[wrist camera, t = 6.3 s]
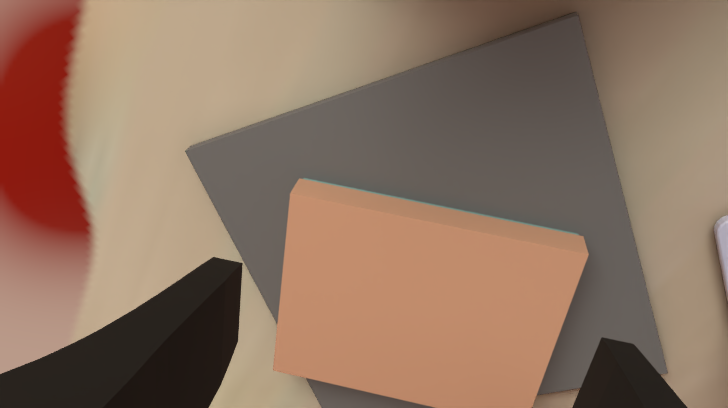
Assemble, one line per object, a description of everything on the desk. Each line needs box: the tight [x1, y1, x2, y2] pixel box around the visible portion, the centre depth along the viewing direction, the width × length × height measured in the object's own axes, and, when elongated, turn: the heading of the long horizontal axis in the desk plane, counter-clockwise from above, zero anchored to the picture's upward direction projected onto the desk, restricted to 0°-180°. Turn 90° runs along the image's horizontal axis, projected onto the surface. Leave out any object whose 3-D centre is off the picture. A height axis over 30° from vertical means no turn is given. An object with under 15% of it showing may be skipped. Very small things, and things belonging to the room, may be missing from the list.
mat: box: [185, 12, 668, 408], centre depth 24 cm, size 14×14×1 cm
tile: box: [273, 178, 589, 408], centre depth 23 cm, size 2×10×8 cm
